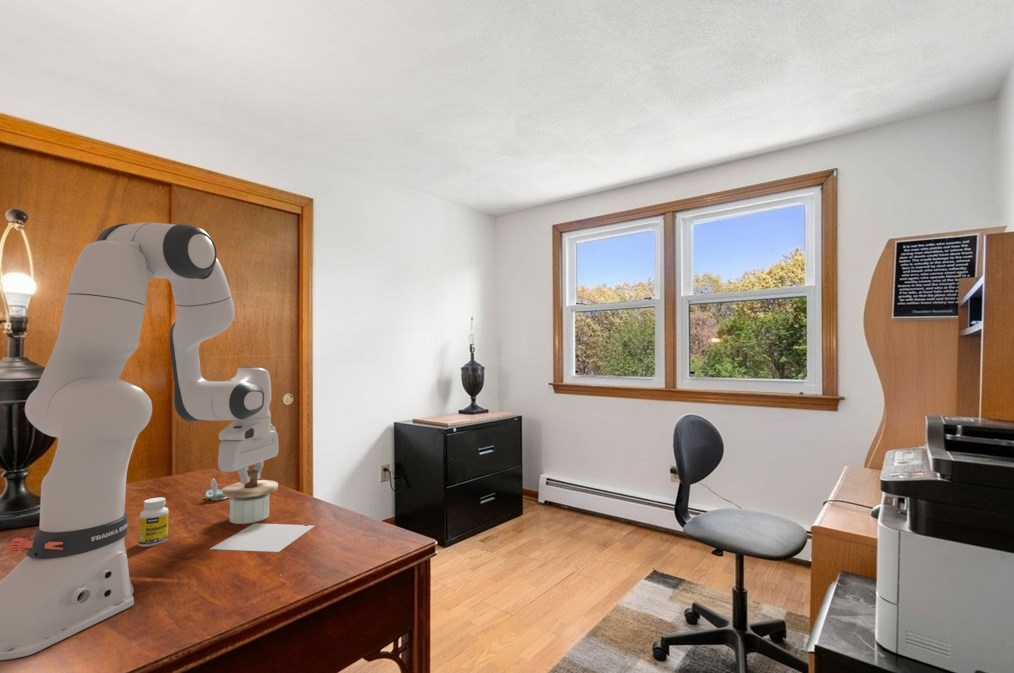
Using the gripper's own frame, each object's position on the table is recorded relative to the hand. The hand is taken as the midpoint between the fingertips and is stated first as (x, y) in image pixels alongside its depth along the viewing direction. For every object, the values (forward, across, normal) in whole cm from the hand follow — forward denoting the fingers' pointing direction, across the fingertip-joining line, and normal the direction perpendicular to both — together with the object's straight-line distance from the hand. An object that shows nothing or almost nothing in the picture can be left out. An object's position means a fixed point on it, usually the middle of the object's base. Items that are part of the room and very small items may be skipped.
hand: (250, 481), depth 125 cm
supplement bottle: (+10, +17, -12) cm, 23 cm away
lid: (+2, 0, 0) cm, 2 cm away
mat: (+10, +12, +12) cm, 20 cm away
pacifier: (+10, -16, -21) cm, 28 cm away
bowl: (+10, 0, 0) cm, 10 cm away
